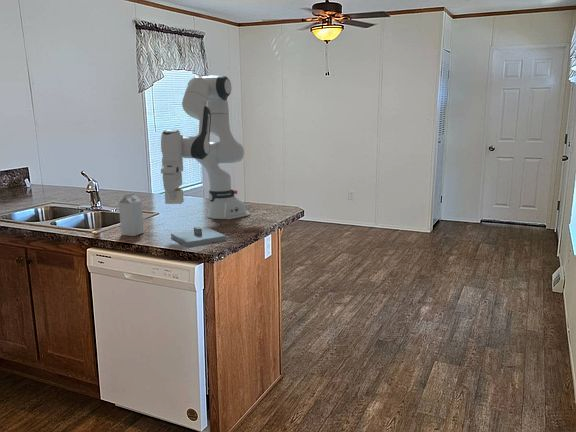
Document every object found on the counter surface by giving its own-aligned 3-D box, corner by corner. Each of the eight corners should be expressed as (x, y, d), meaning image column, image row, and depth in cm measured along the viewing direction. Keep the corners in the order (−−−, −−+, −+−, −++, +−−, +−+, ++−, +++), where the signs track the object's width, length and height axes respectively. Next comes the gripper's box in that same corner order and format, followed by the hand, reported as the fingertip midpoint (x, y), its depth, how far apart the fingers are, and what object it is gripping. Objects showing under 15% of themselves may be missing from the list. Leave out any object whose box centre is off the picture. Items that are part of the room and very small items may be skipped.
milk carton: (121, 235, 231) (117, 194, 227) (131, 231, 237) (128, 191, 233) (134, 236, 228) (130, 194, 224) (143, 232, 235) (140, 192, 231)
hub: (208, 232, 235) (207, 221, 234) (225, 240, 220) (225, 229, 219) (171, 237, 225) (170, 226, 224) (187, 246, 211) (186, 235, 210)
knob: (167, 201, 227) (167, 187, 226) (183, 201, 227) (182, 187, 226) (165, 203, 222) (164, 189, 221) (181, 203, 222) (180, 189, 221)
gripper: (170, 164, 232) (172, 194, 235) (159, 170, 212) (161, 202, 215) (184, 164, 232) (186, 194, 235) (174, 170, 212) (176, 202, 215)
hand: (174, 198), depth 224 cm, fingers closed on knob, 5 cm apart
